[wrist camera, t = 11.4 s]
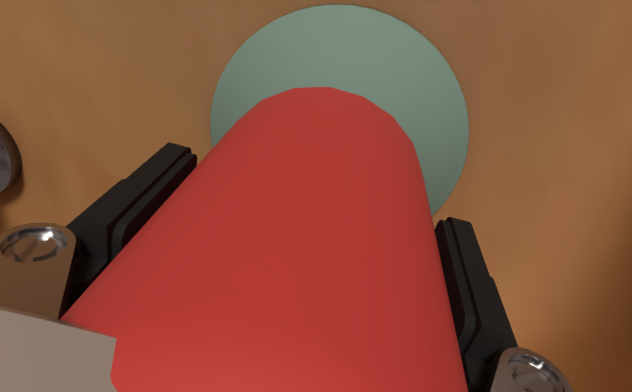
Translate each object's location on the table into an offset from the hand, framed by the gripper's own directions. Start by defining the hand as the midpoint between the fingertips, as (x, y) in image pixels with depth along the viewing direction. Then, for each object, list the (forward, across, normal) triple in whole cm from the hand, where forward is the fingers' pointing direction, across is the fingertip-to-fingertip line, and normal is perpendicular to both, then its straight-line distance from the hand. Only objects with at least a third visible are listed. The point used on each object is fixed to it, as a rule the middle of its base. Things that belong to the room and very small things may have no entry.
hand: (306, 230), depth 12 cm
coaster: (+6, 0, 0) cm, 6 cm away
